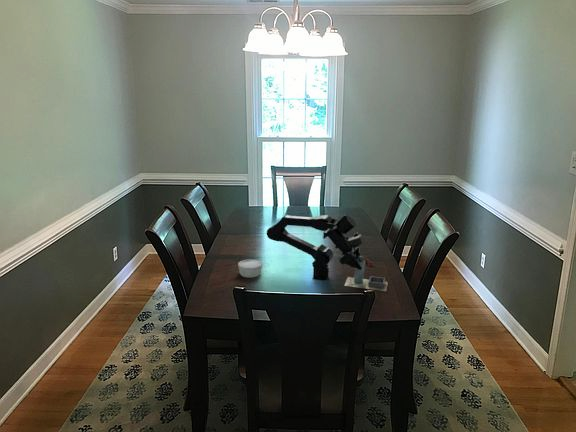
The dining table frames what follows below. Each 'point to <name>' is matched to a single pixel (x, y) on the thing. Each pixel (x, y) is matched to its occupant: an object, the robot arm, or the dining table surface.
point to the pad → (358, 284)
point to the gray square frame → (376, 282)
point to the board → (350, 279)
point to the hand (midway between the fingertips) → (362, 266)
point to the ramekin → (250, 268)
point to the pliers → (367, 262)
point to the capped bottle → (359, 271)
